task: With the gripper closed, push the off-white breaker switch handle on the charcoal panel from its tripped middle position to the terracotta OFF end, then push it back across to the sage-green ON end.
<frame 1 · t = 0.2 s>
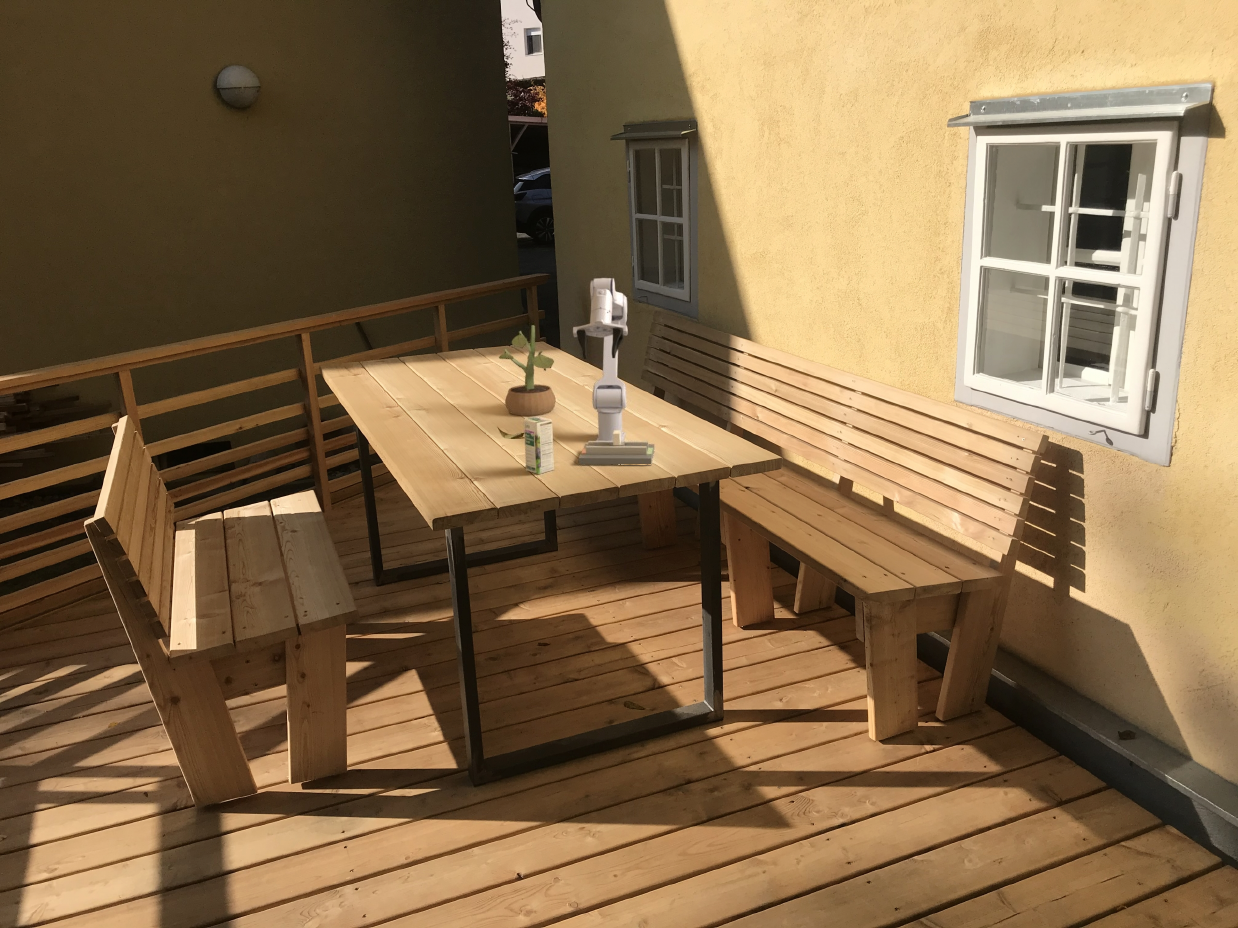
hand: (598, 356, 261), 31 cm above the table, tool tilted 45°, fingers open, 7 cm apart
breaker panel: (617, 457, 278), on the table
breaker handle: (617, 441, 277), point 5 cm above the table, slide at 0.0 cm
syrup box: (540, 471, 269), on the table
potted plant: (532, 413, 330), on the table
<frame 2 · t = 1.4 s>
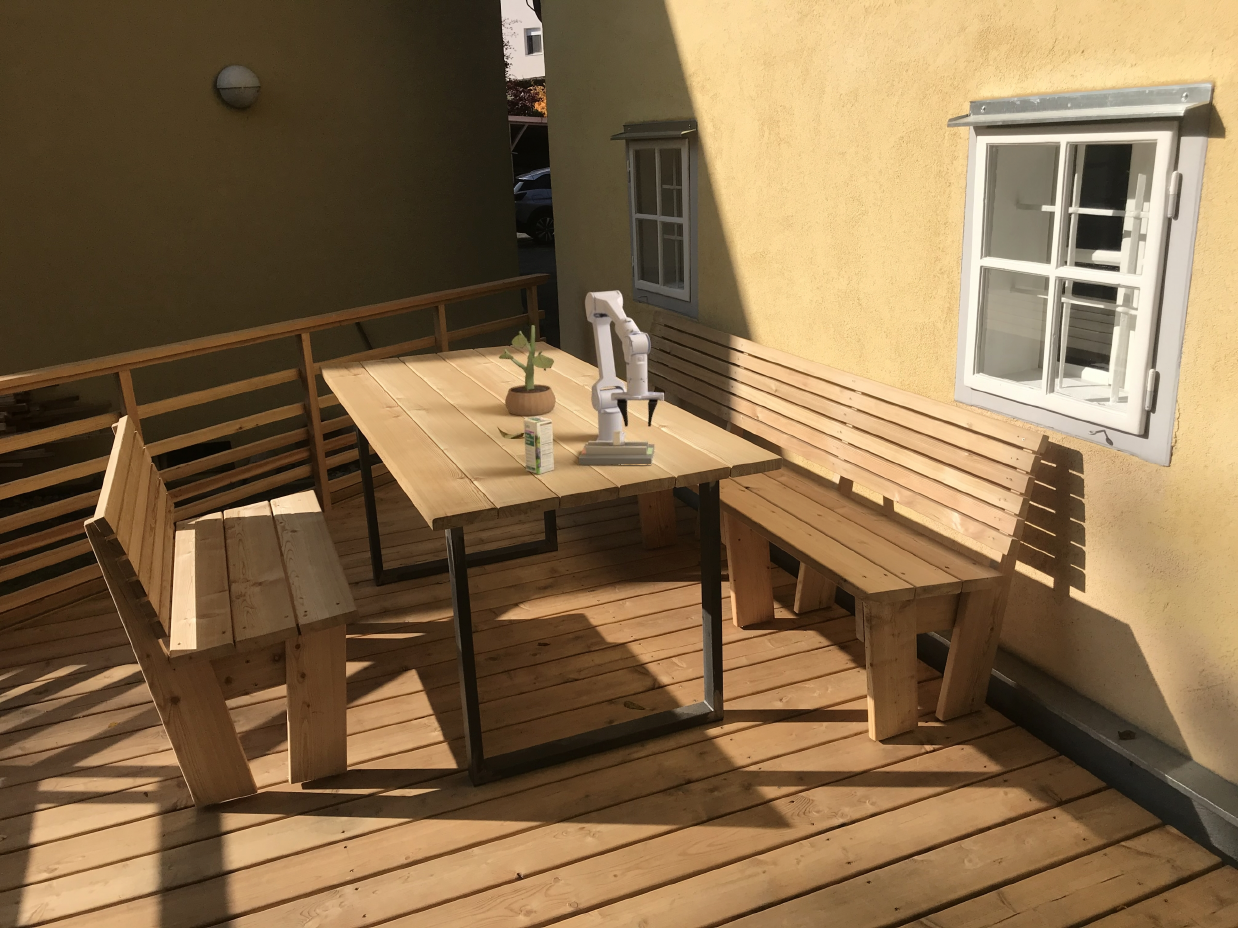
hand: (638, 425, 275), 9 cm above the table, tool pointing down, fingers open, 6 cm apart
nothing on the table moved.
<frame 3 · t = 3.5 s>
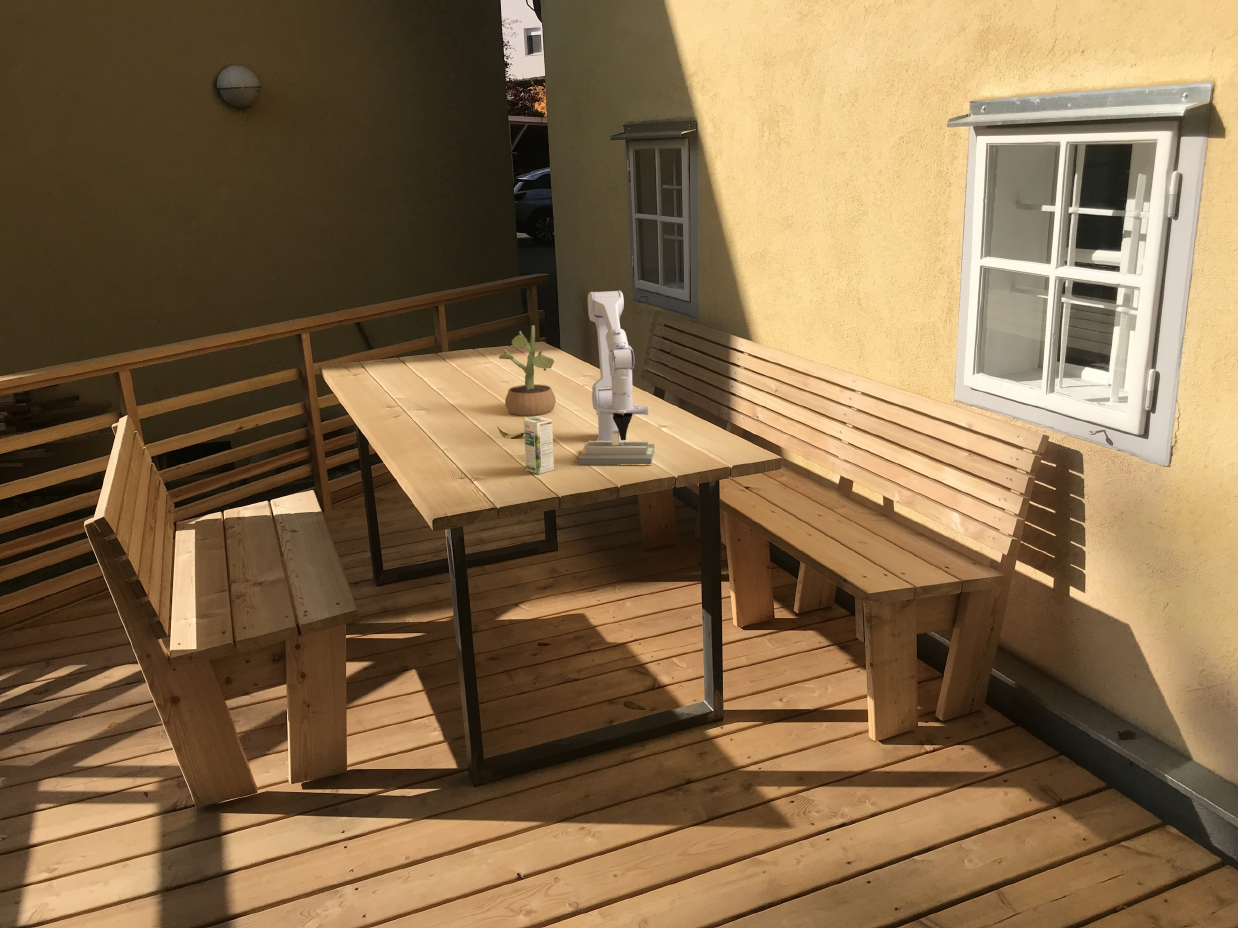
hand: (623, 439, 276), 5 cm above the table, tool pointing down, fingers closed
breaker handle: (615, 441, 277), point 5 cm above the table, slide at -0.4 cm, touching gripper
everything else where it was.
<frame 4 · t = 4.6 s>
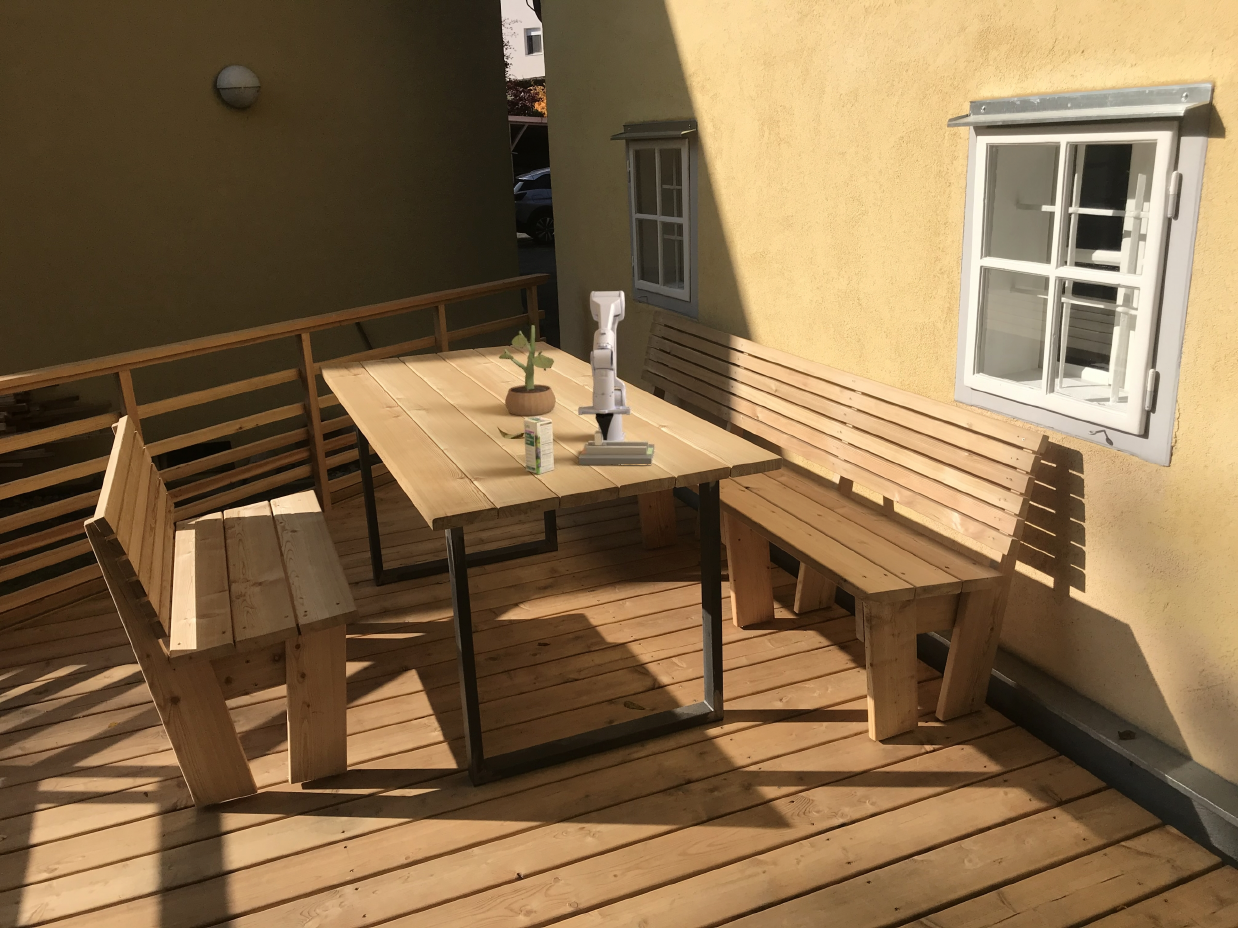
hand: (605, 439, 277), 5 cm above the table, tool pointing down, fingers closed
breaker handle: (598, 441, 277), point 5 cm above the table, slide at -5.2 cm, touching gripper
everything else where it was.
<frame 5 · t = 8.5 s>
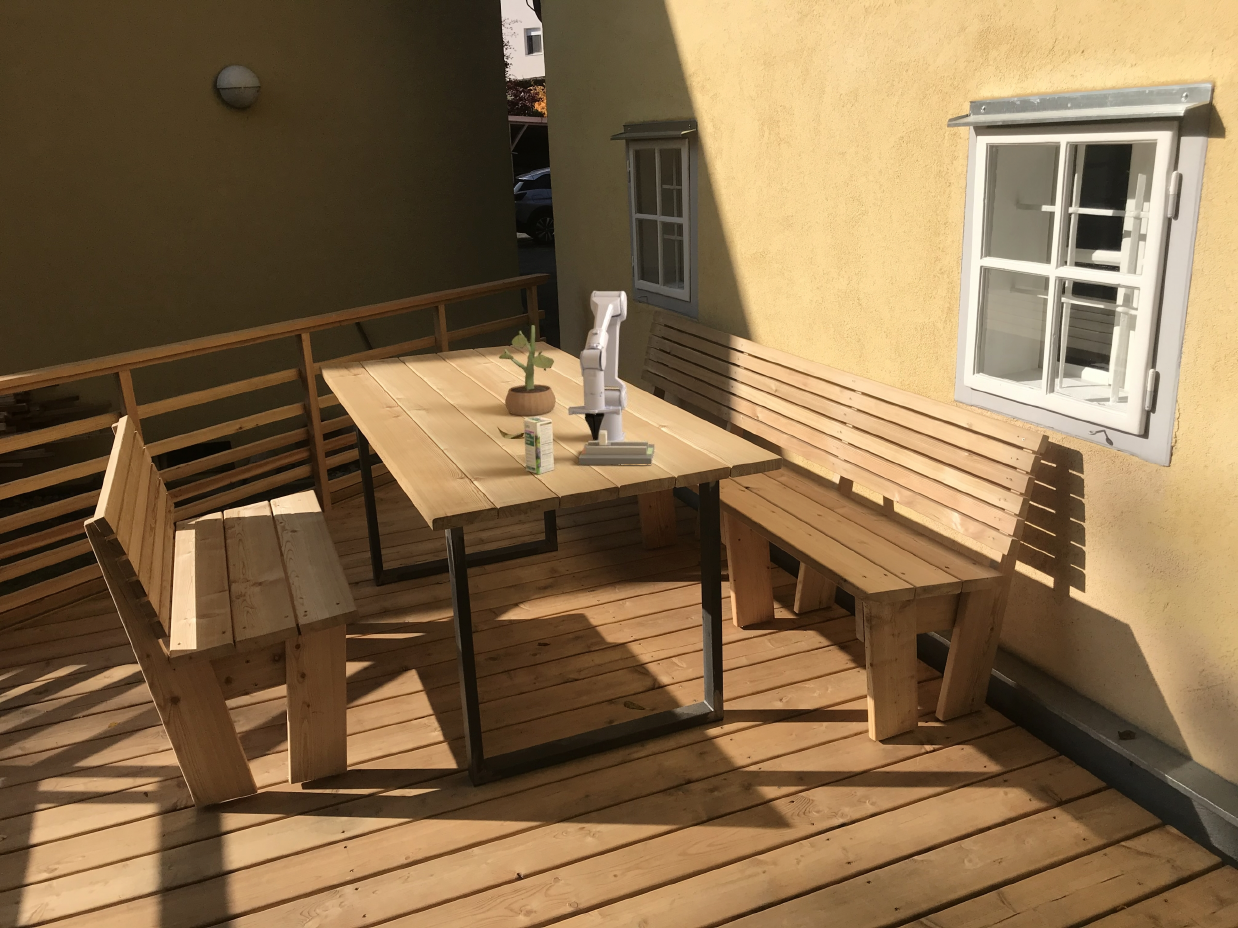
hand: (595, 439, 277), 5 cm above the table, tool pointing down, fingers closed
breaker handle: (603, 441, 277), point 5 cm above the table, slide at -3.9 cm, touching gripper
everything else where it was.
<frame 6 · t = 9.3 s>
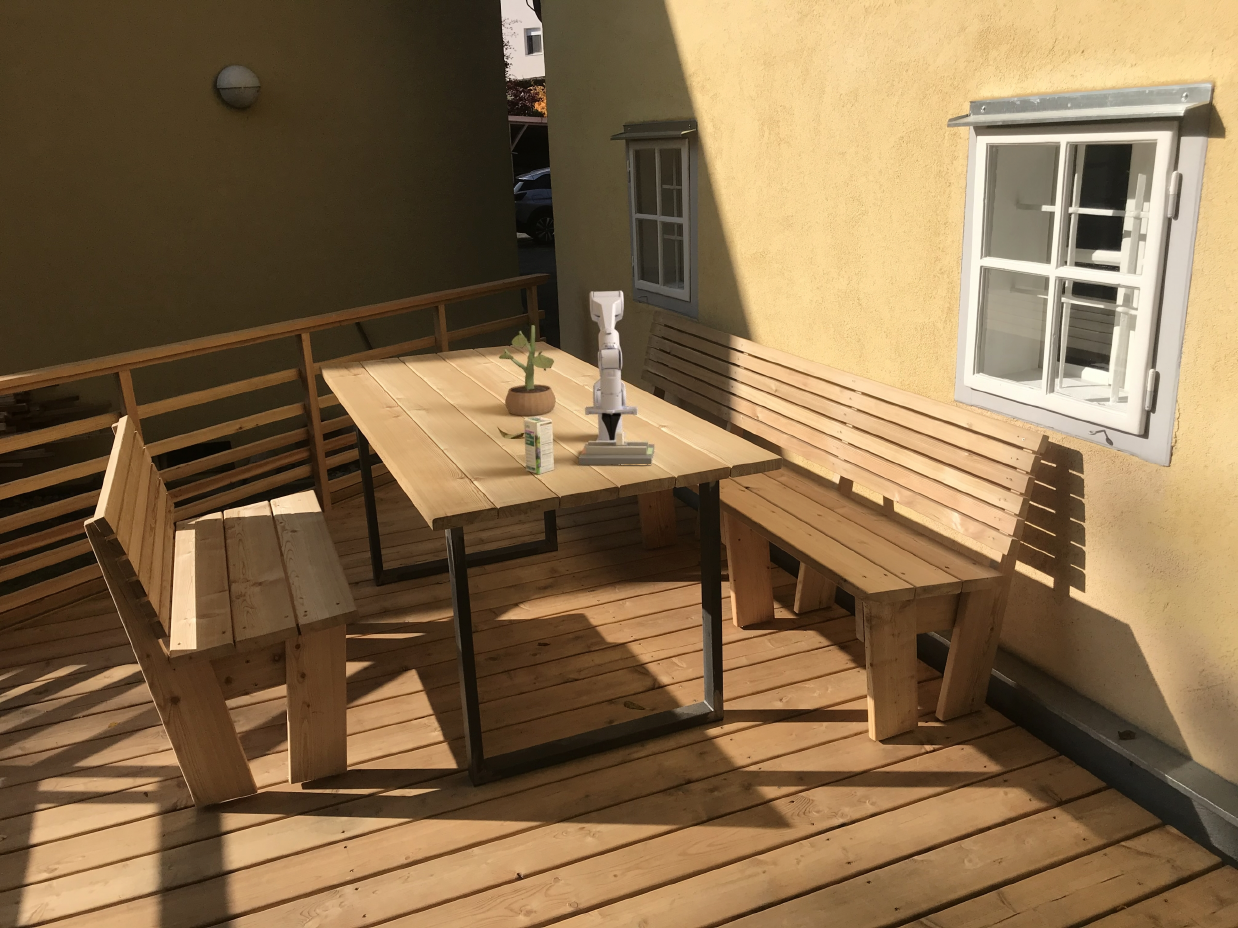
hand: (612, 439, 277), 5 cm above the table, tool pointing down, fingers closed
breaker handle: (619, 441, 277), point 5 cm above the table, slide at 0.8 cm, touching gripper
everything else where it was.
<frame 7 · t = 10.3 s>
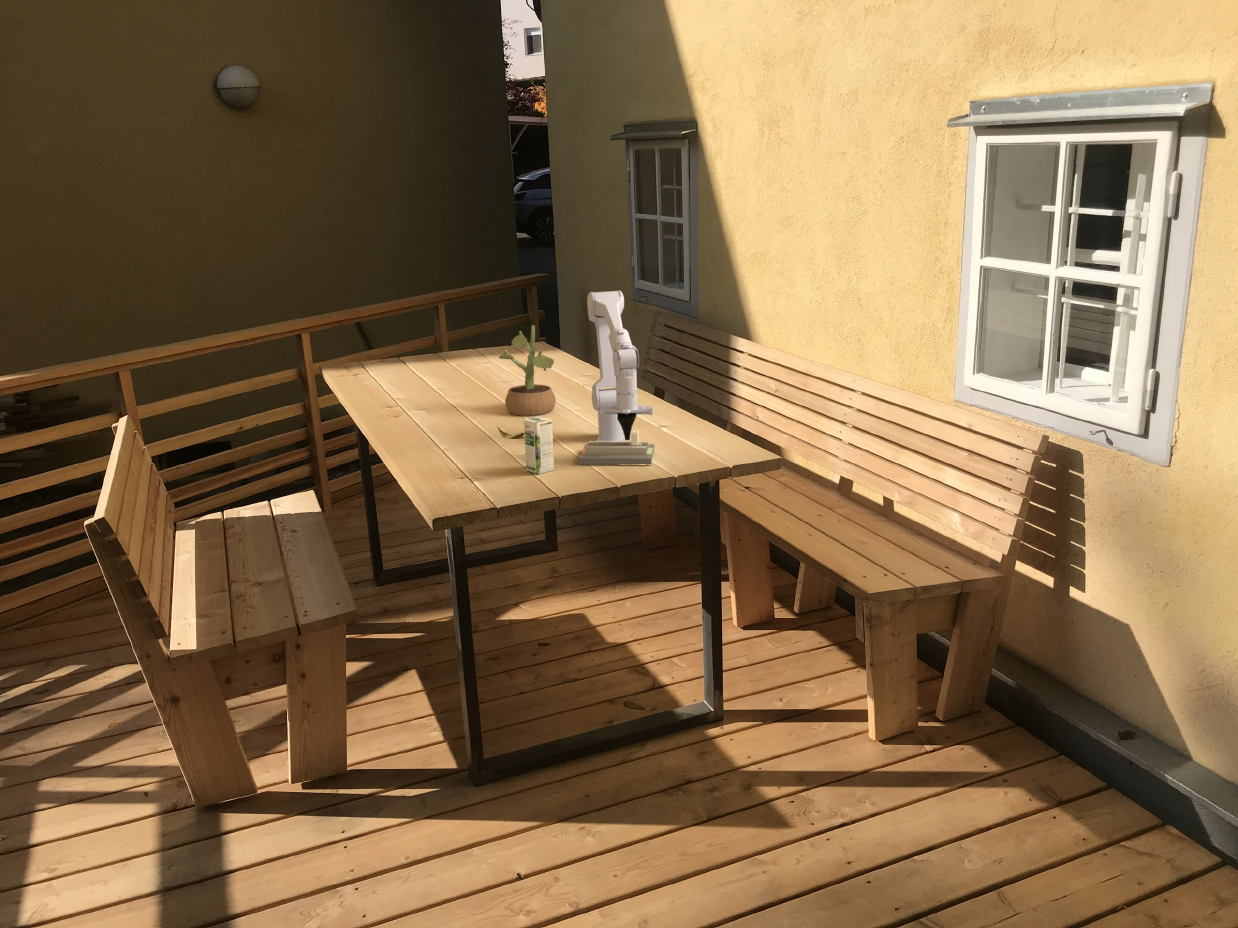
hand: (627, 439, 276), 5 cm above the table, tool pointing down, fingers closed
breaker handle: (635, 441, 276), point 5 cm above the table, slide at 5.1 cm, touching gripper
everything else where it was.
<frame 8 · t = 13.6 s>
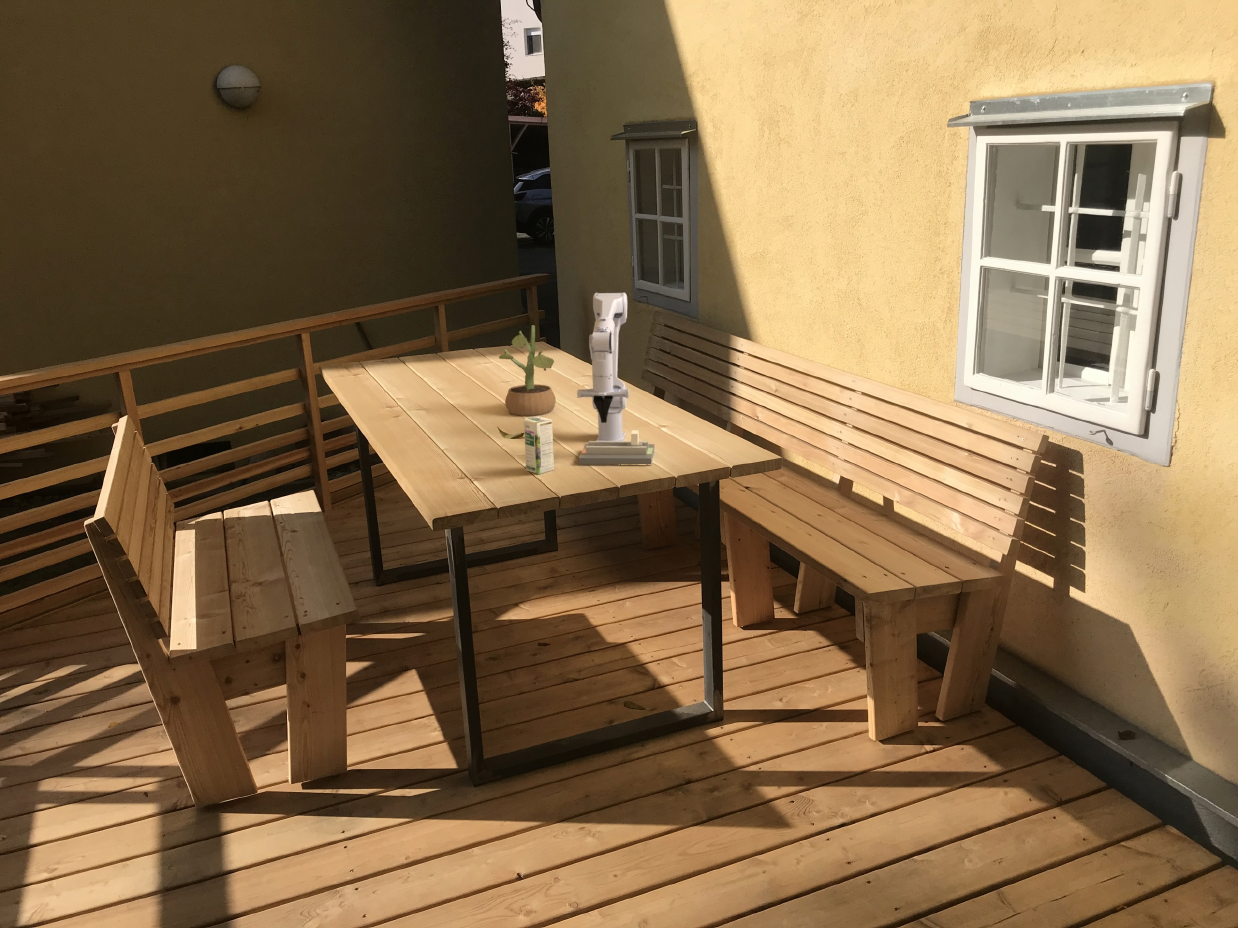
hand: (604, 421, 279), 9 cm above the table, tool pointing down, fingers closed
breaker handle: (635, 441, 276), point 5 cm above the table, slide at 5.1 cm
everything else where it was.
at the end: breaker handle slide at 5.1 cm; syrup box moved 0.2 cm from its start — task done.
